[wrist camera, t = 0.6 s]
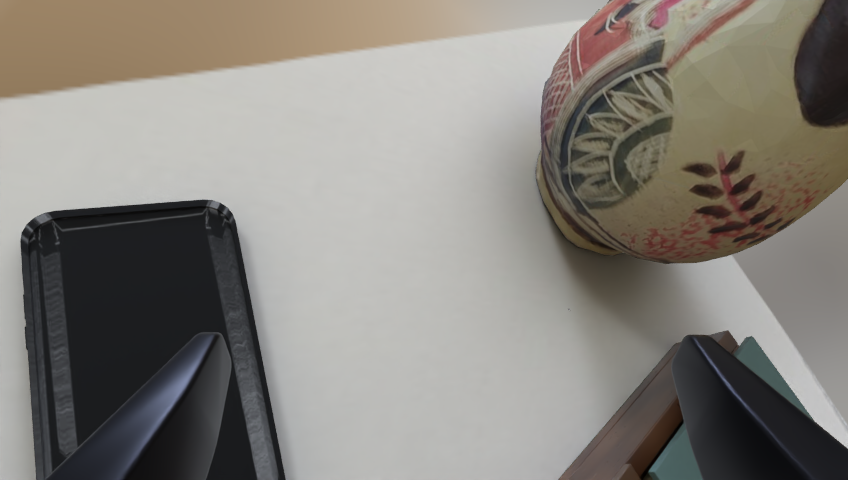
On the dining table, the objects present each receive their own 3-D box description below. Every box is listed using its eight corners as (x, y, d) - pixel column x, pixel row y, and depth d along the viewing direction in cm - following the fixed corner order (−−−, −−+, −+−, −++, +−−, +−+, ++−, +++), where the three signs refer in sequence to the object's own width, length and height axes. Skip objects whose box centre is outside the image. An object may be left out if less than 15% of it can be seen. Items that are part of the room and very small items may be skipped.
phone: (230, 197, 23) (300, 554, 19) (228, 208, 24) (294, 550, 20) (14, 213, 20) (43, 663, 15) (22, 225, 21) (50, 651, 16)
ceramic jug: (531, 58, 38) (1195, -705, 13) (683, 179, 41) (1497, -285, 16) (439, 220, 29) (1962, -1209, 4) (641, 364, 31) (2430, -37, 7)
